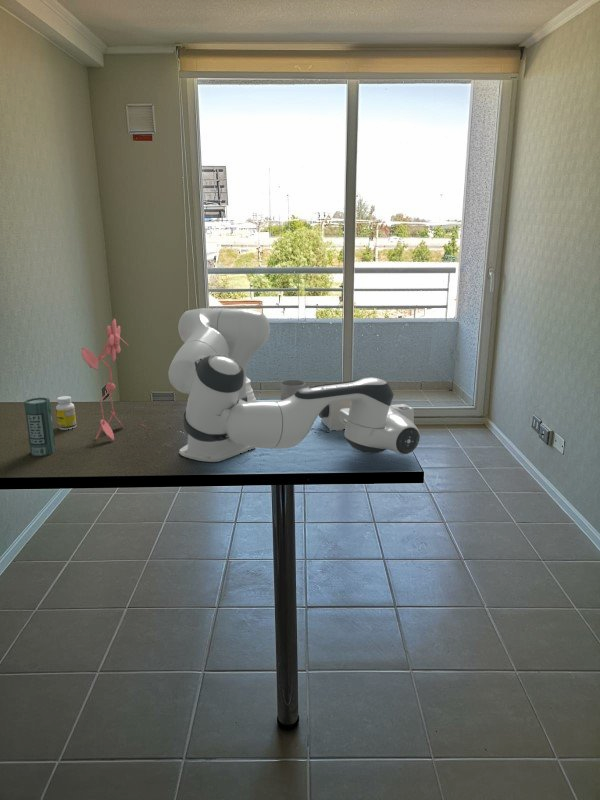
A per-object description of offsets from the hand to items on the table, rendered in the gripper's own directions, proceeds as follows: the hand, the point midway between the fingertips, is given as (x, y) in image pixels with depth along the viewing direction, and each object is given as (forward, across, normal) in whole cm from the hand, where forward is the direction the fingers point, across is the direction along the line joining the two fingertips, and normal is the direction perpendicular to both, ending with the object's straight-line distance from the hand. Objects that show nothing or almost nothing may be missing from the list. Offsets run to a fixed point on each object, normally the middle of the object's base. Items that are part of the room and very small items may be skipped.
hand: (366, 407), depth 173 cm
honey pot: (+34, -33, -10) cm, 49 cm away
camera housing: (+15, -1, -10) cm, 18 cm away
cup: (+34, -14, -10) cm, 38 cm away
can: (+13, -91, -10) cm, 92 cm away
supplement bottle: (+34, -86, -10) cm, 93 cm away
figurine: (+23, -70, -10) cm, 74 cm away
